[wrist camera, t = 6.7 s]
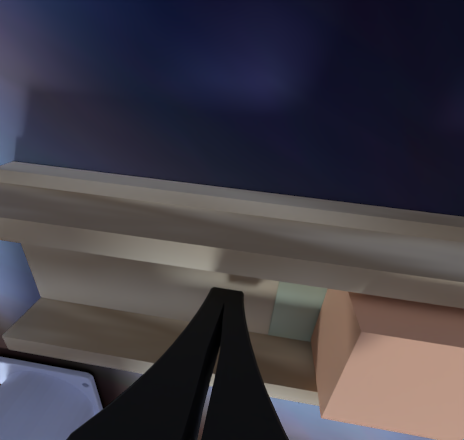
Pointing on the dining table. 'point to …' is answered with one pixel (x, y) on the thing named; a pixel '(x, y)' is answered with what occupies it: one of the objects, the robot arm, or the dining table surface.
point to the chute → (207, 265)
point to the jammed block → (390, 364)
